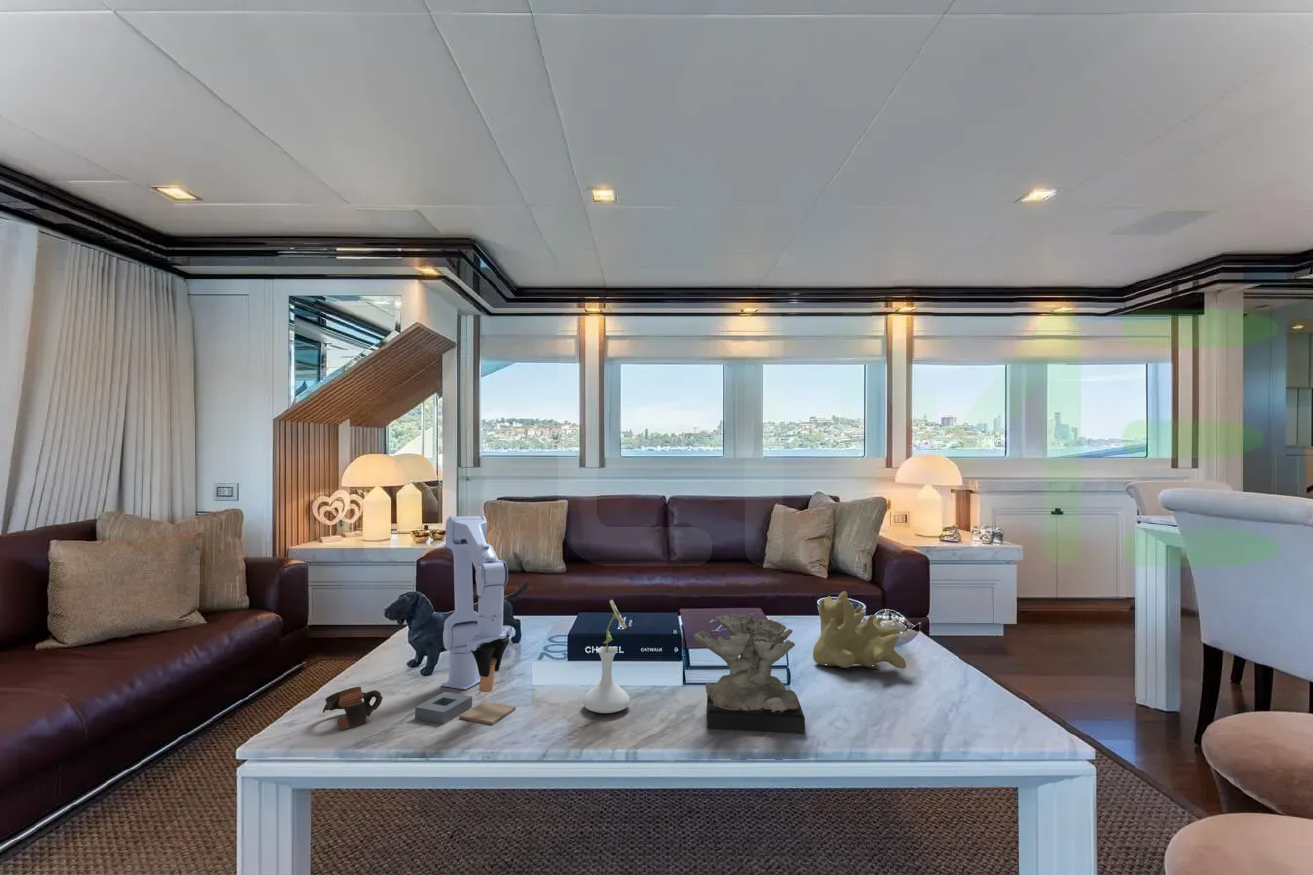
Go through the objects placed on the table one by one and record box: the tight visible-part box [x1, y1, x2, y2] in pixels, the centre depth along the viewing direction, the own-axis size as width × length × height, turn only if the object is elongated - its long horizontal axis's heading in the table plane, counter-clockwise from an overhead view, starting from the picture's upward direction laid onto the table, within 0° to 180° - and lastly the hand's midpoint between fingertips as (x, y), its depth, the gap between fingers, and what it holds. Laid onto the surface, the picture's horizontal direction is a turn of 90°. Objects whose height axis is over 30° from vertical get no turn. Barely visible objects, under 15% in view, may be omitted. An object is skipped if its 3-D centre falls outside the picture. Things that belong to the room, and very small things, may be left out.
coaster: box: [458, 701, 517, 725], centre depth 137 cm, size 9×9×1 cm
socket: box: [414, 691, 473, 724], centre depth 138 cm, size 10×8×2 cm
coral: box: [693, 613, 806, 735], centre depth 141 cm, size 25×20×22 cm
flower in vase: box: [582, 599, 631, 714], centre depth 143 cm, size 13×11×25 cm
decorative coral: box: [812, 590, 907, 670], centre depth 175 cm, size 26×22×25 cm
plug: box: [478, 657, 497, 693], centre depth 138 cm, size 3×3×7 cm
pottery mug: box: [322, 686, 384, 731], centre depth 134 cm, size 12×10×8 cm
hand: (489, 673), depth 138 cm, fingers closed on plug, 3 cm apart
